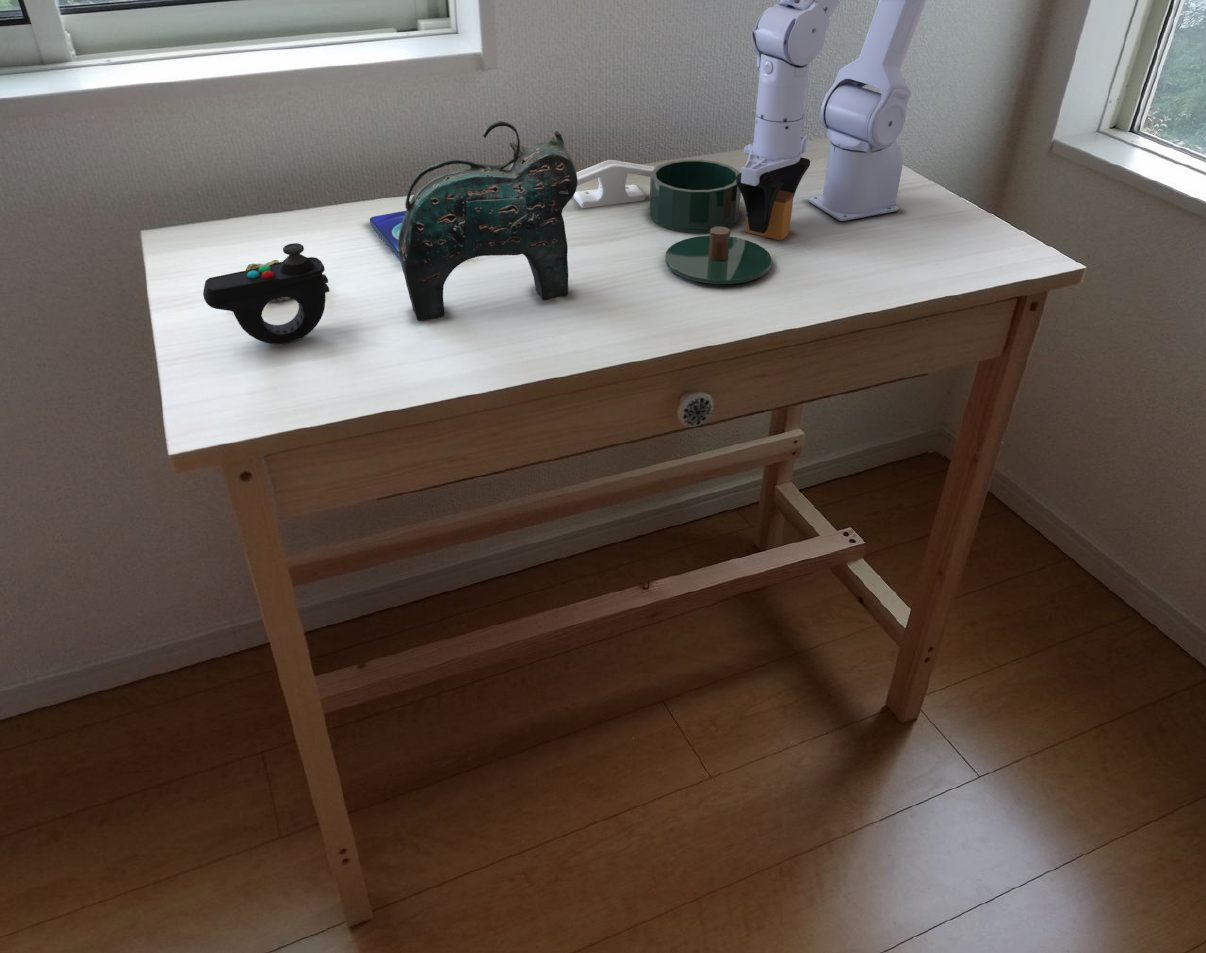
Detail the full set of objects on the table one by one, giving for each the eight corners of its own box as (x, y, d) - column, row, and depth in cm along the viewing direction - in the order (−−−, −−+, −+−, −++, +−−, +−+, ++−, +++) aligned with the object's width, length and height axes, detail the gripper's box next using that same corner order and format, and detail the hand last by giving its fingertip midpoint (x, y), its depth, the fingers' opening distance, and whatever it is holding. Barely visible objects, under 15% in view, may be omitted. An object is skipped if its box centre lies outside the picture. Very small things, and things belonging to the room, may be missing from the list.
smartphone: (422, 207, 134) (461, 247, 123) (423, 213, 134) (462, 254, 123) (367, 217, 131) (402, 259, 120) (368, 224, 131) (403, 266, 121)
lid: (737, 236, 128) (740, 203, 125) (790, 277, 119) (795, 241, 116) (647, 253, 124) (648, 219, 121) (695, 296, 115) (697, 260, 112)
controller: (341, 336, 107) (325, 249, 101) (222, 363, 103) (198, 273, 97) (330, 319, 110) (314, 234, 104) (215, 344, 106) (191, 256, 100)
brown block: (789, 233, 129) (794, 192, 126) (780, 241, 127) (785, 199, 124) (754, 225, 131) (757, 184, 128) (744, 232, 129) (748, 191, 126)
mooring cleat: (536, 202, 137) (534, 163, 134) (671, 185, 143) (672, 147, 139) (544, 213, 134) (542, 173, 131) (681, 195, 140) (683, 156, 136)
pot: (711, 193, 140) (714, 154, 137) (754, 224, 131) (758, 183, 128) (635, 206, 136) (636, 166, 133) (674, 238, 128) (676, 197, 124)
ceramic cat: (569, 278, 118) (566, 105, 106) (588, 302, 114) (586, 124, 102) (403, 305, 113) (379, 126, 101) (415, 331, 108) (391, 146, 96)
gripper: (775, 94, 127) (764, 198, 135) (721, 125, 117) (714, 234, 125) (827, 103, 124) (813, 209, 132) (776, 135, 114) (765, 247, 122)
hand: (768, 222), depth 128 cm, fingers open, 6 cm apart
